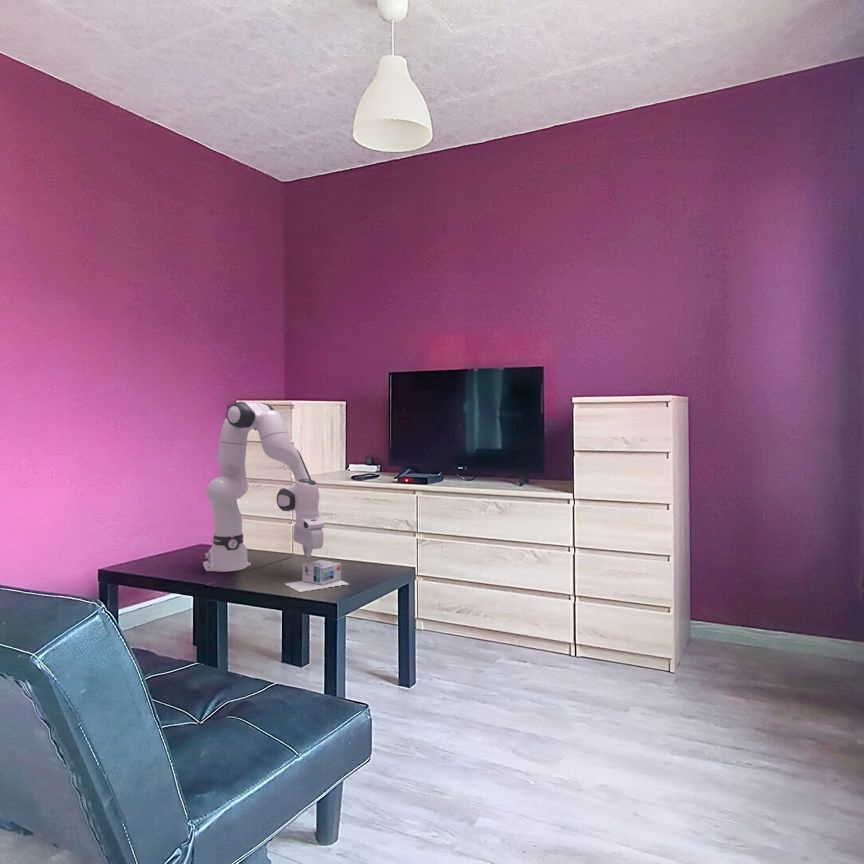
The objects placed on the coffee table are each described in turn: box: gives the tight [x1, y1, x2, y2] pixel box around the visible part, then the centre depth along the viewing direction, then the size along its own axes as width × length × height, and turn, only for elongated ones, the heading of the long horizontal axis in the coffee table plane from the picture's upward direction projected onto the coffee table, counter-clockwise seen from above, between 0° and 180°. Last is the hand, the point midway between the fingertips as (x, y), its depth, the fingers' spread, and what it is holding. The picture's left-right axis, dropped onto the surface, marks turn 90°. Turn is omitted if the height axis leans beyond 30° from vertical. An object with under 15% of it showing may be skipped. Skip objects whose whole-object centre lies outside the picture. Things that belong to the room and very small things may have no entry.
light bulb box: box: [301, 559, 342, 585], centre depth 255 cm, size 11×7×11 cm
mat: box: [284, 579, 350, 594], centre depth 250 cm, size 14×20×1 cm
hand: (307, 556), depth 257 cm, fingers closed
